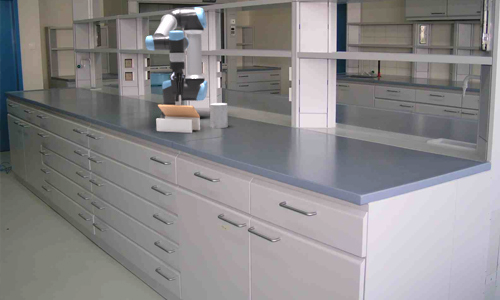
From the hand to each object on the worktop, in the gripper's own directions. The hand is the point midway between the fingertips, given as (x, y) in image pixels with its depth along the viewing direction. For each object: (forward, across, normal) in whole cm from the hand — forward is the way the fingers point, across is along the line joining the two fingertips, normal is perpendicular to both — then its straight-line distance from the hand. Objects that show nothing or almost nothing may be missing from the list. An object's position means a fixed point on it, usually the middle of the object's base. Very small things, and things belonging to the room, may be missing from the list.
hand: (178, 107), depth 284 cm
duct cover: (+2, 0, 0) cm, 2 cm away
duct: (+12, 0, 0) cm, 12 cm away
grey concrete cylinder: (+12, -18, +15) cm, 26 cm away
